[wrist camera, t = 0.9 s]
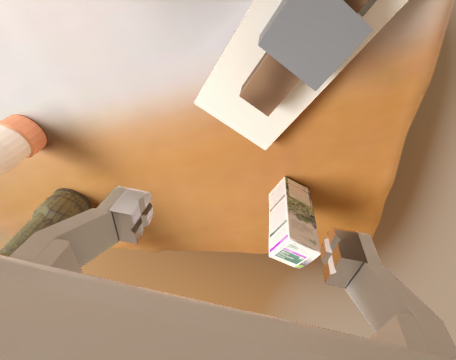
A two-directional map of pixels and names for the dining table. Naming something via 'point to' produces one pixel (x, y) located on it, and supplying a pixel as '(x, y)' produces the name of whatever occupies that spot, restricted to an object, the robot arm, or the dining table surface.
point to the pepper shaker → (19, 141)
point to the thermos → (49, 216)
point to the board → (247, 61)
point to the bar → (274, 78)
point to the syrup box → (292, 224)
